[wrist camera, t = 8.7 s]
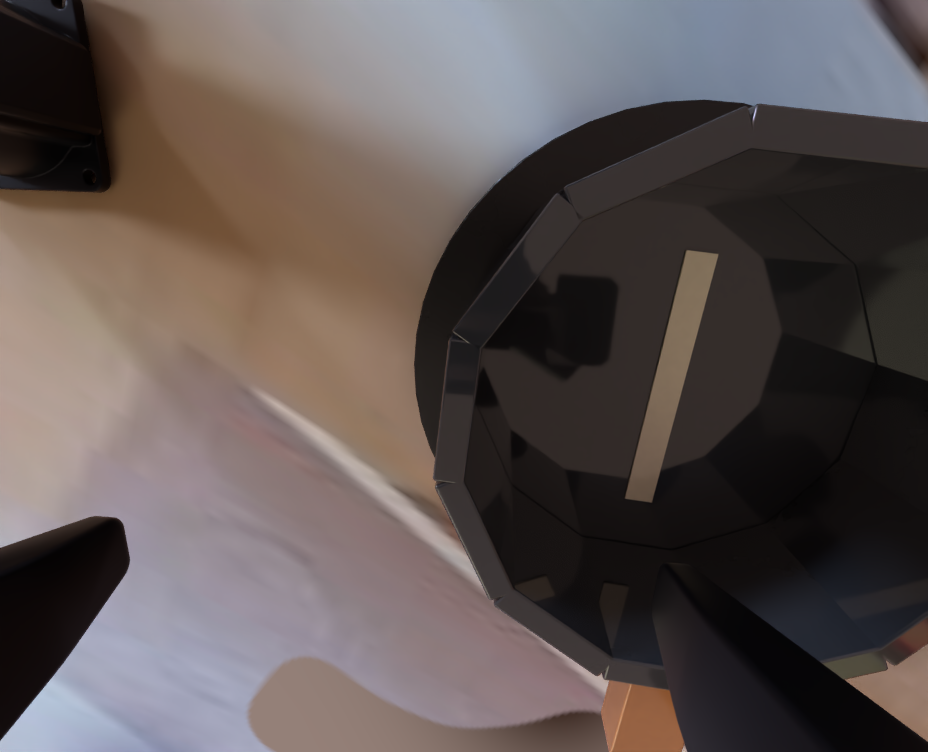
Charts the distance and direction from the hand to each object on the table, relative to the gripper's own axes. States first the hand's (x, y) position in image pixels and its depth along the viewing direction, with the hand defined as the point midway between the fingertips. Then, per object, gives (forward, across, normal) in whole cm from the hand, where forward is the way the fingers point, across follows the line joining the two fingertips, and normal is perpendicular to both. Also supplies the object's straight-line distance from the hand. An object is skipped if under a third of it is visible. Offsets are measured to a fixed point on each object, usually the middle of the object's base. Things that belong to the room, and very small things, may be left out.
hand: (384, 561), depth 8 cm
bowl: (+10, -8, +1) cm, 13 cm away
